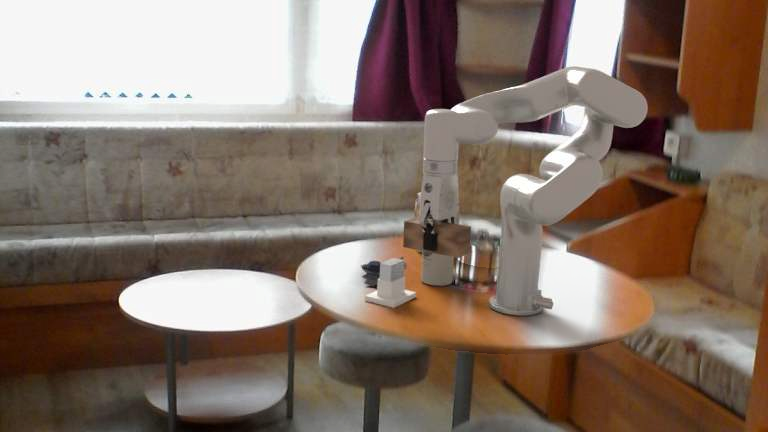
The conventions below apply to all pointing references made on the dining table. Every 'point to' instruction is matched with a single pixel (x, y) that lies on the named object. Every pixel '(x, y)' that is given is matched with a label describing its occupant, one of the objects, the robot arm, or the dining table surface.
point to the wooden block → (439, 237)
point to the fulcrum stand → (391, 285)
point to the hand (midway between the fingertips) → (436, 246)
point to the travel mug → (437, 267)
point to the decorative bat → (372, 272)
